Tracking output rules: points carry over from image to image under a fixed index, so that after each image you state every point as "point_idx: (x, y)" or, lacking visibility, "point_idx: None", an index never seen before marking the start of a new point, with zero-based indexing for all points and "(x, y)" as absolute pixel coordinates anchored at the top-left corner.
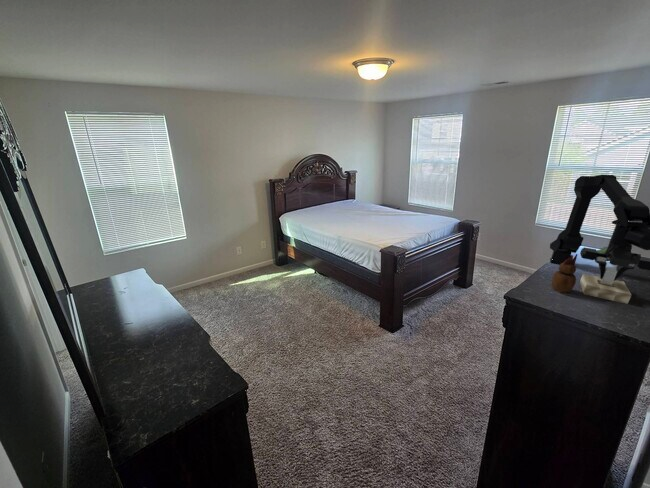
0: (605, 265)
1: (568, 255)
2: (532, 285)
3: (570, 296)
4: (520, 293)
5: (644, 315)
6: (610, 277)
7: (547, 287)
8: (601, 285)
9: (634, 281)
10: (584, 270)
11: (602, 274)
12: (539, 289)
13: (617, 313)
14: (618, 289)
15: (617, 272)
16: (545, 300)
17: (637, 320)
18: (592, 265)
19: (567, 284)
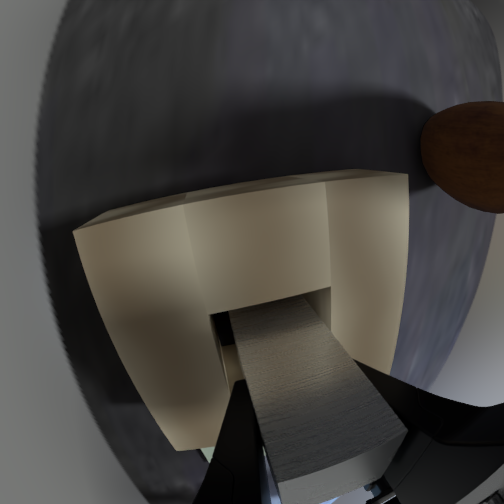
0: (477, 438)
1: (382, 480)
2: None
3: (402, 97)
4: (489, 47)
5: (37, 118)
6: (291, 380)
7: None
8: (312, 268)
9: (160, 486)
10: None
11: (367, 376)
12: None
13: (170, 14)
14: (175, 284)
15: (259, 470)
16: (443, 14)
17: (84, 15)
18: None
19: (475, 102)
